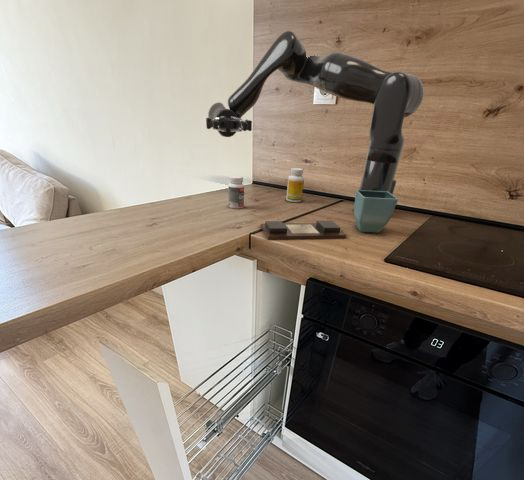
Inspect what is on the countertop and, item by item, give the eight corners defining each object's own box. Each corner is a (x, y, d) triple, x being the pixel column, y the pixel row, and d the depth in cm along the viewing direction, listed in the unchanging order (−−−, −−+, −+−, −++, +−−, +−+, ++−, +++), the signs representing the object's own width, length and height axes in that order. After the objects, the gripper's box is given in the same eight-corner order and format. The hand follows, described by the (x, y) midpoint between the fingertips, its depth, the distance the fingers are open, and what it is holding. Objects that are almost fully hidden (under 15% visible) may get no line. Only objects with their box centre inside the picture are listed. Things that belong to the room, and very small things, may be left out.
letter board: (331, 225, 84) (332, 218, 83) (345, 238, 77) (346, 230, 76) (260, 226, 81) (260, 218, 80) (268, 239, 73) (268, 231, 72)
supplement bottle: (284, 198, 107) (287, 167, 101) (298, 198, 108) (302, 167, 102) (288, 202, 103) (291, 170, 97) (303, 202, 104) (307, 170, 98)
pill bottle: (241, 209, 93) (241, 178, 88) (227, 208, 94) (226, 177, 89) (245, 205, 97) (245, 176, 92) (231, 204, 97) (230, 174, 92)
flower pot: (348, 224, 86) (355, 189, 81) (378, 226, 86) (388, 191, 81) (354, 234, 79) (363, 196, 74) (387, 236, 79) (399, 199, 74)
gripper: (203, 107, 100) (206, 108, 88) (246, 109, 102) (254, 111, 90) (205, 135, 105) (208, 140, 92) (246, 136, 107) (254, 141, 95)
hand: (231, 125), depth 91 cm, fingers open, 8 cm apart
